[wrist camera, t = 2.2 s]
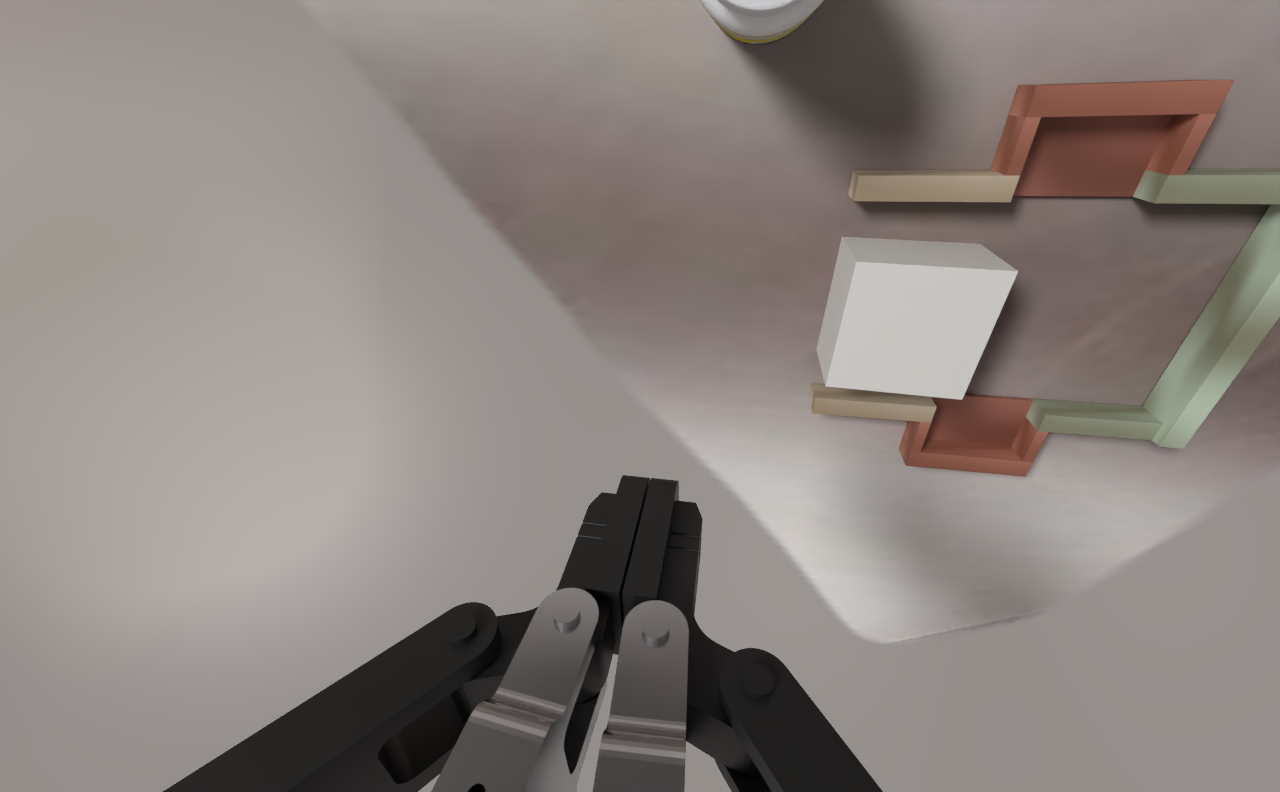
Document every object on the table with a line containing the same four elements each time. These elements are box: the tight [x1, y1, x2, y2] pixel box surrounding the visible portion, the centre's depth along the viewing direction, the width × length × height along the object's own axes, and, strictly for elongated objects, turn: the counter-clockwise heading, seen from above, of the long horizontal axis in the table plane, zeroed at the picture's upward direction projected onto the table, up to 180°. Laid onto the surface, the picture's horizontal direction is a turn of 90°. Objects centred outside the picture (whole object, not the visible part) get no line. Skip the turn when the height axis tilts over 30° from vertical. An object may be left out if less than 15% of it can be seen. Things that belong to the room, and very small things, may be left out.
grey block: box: [817, 237, 1018, 400], centre depth 23 cm, size 6×6×4 cm
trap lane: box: [809, 80, 1280, 477], centre depth 22 cm, size 18×17×2 cm
